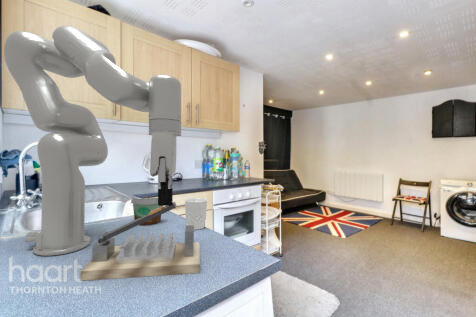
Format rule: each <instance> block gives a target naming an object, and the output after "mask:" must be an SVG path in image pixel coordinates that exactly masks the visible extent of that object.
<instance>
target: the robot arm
mask: <svg viewBox="0 0 476 317" xmlns="http://www.w3.org/2000/svg"><path fill="white" fill-rule="evenodd" d="M51 40H52V41H51ZM51 40H49V39H48V38H45V37H44V36H41V35H38V34H35V33H33V32H29V31H23V30H16V31H13V32H11V33H10V34H8V36H7V37H6V39H5V42H4V47H3V49H4V51H3V55H4V56H3V57H4V61H5V65H6V66H7V70H8V71H9V73H10V75H11V76H12V79H13V80H14V82H15V83H16V84H17V86H18V88H19V90H20V92H21V94H22V97H23V100H24V103H25V105H26V107H27V110H28V112H29V114H30V117H31V120H32V122H33V124H34V125H35V126H36V128H37V129H39V130H40V131H43V132H46V134H45V135H43V136H42V137H40V138H39V141H38V142H37V145H36V148H37V149H36V150H37V151H36V152H37V156H38V160H39V164H40V165H39V166H40V171H41V220H40V221H41V229H40V230H41V231H40V232H38V231H37V232H33V231H32V232H28V233H27V234H26V236H25V242H27V243H32V242H35V243H36V244H35V245H34V246H33V249H32V253H34V255H37V256H42V257H43V256H46V257H48V256H49V257H50V256H60V255H65V254H70V253H73V252H76V251H78V250H82V249H84V248H86V247H87V246H89V245H90V244H91V237H90V236H88V235H85V217H86V216H85V212H86V211H85V210H86V209H85V208H86V207H85V206H86V203H85V202H86V184H85V183H86V182H85V178H84V176H83V173H82V172H81V170H80V169H79V167H95V166H98V165H99V166H100V165H101V164H103V163H104V162H105V161H106V159H107V157H108V155H109V151H108V150H109V149H108V144H107V141H106V139H105V137H104V135H103V132H102V130H101V128H100V125H99V123H98V120H97V119H96V116H95V115H94V113H93V112H92V111H91V110H90V109H88V108H87V107H85V106H83V105H79V104H77V103H71V102H69V101H67V100H65V98H64V97H63V95H62V93H61V91H60V88H59V86H58V84H57V83H56V82H55V80H54V79H53V78H52V77H51V76H50V75H48V73H47V72H50V73H52V74H56V75H59V76H62V77H65V78H67V79H69V78H70V79H75V78H80V77H83V76H84V79H85V81H86V83H87V84H88V85H89V86H90V87H91V88H92V89H93V90H94V91H96V92H97V93H98V94H99V95H101V96H102V97H104V98H105V99H106V100H107V101H110V102H111V103H113V104H115V105H117V106H120V107H125V108H129V109H132V110H134V111H138V112H142V113H148V135H149V136H151V142H150V143H151V145H150V160H149V161H150V162H149V163H150V168H149V175H150V176H151V177H157V184H158V185H157V186H158V188H157V198H158V205H159V206H163V207H164V206H170V205H172V203H173V202H174V201H173V200H174V198H173V190H174V189H173V175H174V174H176V167H177V137H180V136H182V83H181V82H180V80H179V79H178V78H177V77H174V76H172V75H166V74H158V75H154V76H152V77H151V78H150V79H149V80H148V81H146V80H143V79H141V78H140V77H137V76H135V75H133V74H131V73H129V72H127V71H125V70H124V69H122V68H121V67H120V66H118V65H117V63H116V62H117V61H116V58H115V56H114V55H113V53H112V52H111V51H110V49H109V48H108V47H107V45H105V44H104V43H103V42H101V41H99V40H98V39H96V38H95V37H93V36H91V35H89V34H87V33H86V32H85V31H83V30H81V29H80V28H77V27H76V26H75V27H74V26H70V25H61V26H58V27H56V28H55V29H54V31H53V32H52V36H51ZM47 132H48V133H47Z"/></svg>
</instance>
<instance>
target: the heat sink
mask: <svg viewBox="0 0 476 317" xmlns="http://www.w3.org/2000/svg"><path fill="white" fill-rule="evenodd" d="M194 234H195V230H194V225H185V231H184V243H185V257H193V249H194V243H195V242H194V241H195V239H194V238H195V236H194ZM145 235H146V234H145V233H141V234H140V235H139V237H138V238H137V240H136V241H135V239H136V238H135V236H136V235H135V234H130V236H129V237H128V238H127V239H126V241H124V243H123V244H122V245H121V246H122V247H121V248H120V253H119V254H118V256H117V257H116V265H120V264H137V263H155V262H172V261H173V259H174V254H175V250H176V243H177V240H174V232H170V233H169V236H168V239H167V240H165V233H162V232H161V233H160V235H159V236H158V238H157V240H155V233H150V235H149V237H148V238H147V241H145V238H146V236H145ZM115 240H116V238H115V237H112V238H110V239H108V240H105V241H104V242H103V243H98V241H97V242H95V244H93V245H92V246H91V247H92V250H91V260H92V262H103V261H107V260H108V259H109V258H110V257H111V256H112V255H113V253H114V252H115V246H116V241H115Z"/></svg>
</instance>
